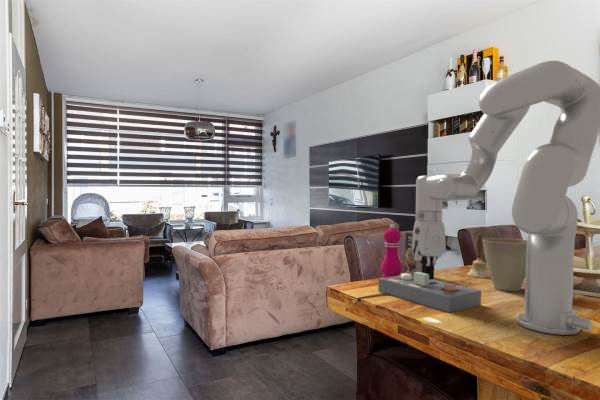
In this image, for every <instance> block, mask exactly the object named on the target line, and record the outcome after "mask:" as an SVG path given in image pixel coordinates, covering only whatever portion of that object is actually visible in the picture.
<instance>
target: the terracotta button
mask: <svg viewBox="0 0 600 400" xmlns="http://www.w3.org/2000/svg"><path fill="white" fill-rule="evenodd" d="M456 285H457V284H455V283H449V282H446V283H445V284H444V291H448V292H456Z"/></svg>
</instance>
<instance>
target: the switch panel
mask: <svg viewBox="0 0 600 400" xmlns="http://www.w3.org/2000/svg"><path fill="white" fill-rule="evenodd" d="M399 275H400V276H393V277H386V278H383V277H380V278H378V290H377V291H378V292H379V293H383V294H387V295H389V294H390V295H389V296H392V295H394V296H393V297H396V296H397V297H396V298H399V297H400V299H402V298H403V300H406V301H410V302H412V303H416V304H419V305H423V306H425V307H430V308H433V309H435V310H439V311H442V312H446V313H453V312H457V311H461V310H466V309H469V308H473V307H477V306H481V304H482V290H479V289H475V288H471V287H466V286H464V285H463V286H462V285H459V284H455V285H456V292H448V291H444V284H445V283H447V282H446V281H441V280H436V279H431V280H429V285H427V286H419V285H418V284H415V283H414V275H412V280H411V281H404V280H401V274H399Z"/></svg>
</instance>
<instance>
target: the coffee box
mask: <svg viewBox="0 0 600 400" xmlns="http://www.w3.org/2000/svg"><path fill="white" fill-rule="evenodd" d="M412 239H413V231H412V232H411V231H410V232H407V231H406V232H405V248H404V249H405V250H404V252H405V256H404V273H407V274H411V275H414V272H421V273H422V265H421V264H420V261H419V260H415V259H414V256H415V254H413V251H412ZM430 257H431V256H430Z"/></svg>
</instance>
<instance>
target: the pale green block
mask: <svg viewBox="0 0 600 400" xmlns="http://www.w3.org/2000/svg"><path fill="white" fill-rule="evenodd" d="M414 283H415V284H418V285H419V286H427V285H429V274H426V273H421V272H414Z"/></svg>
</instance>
